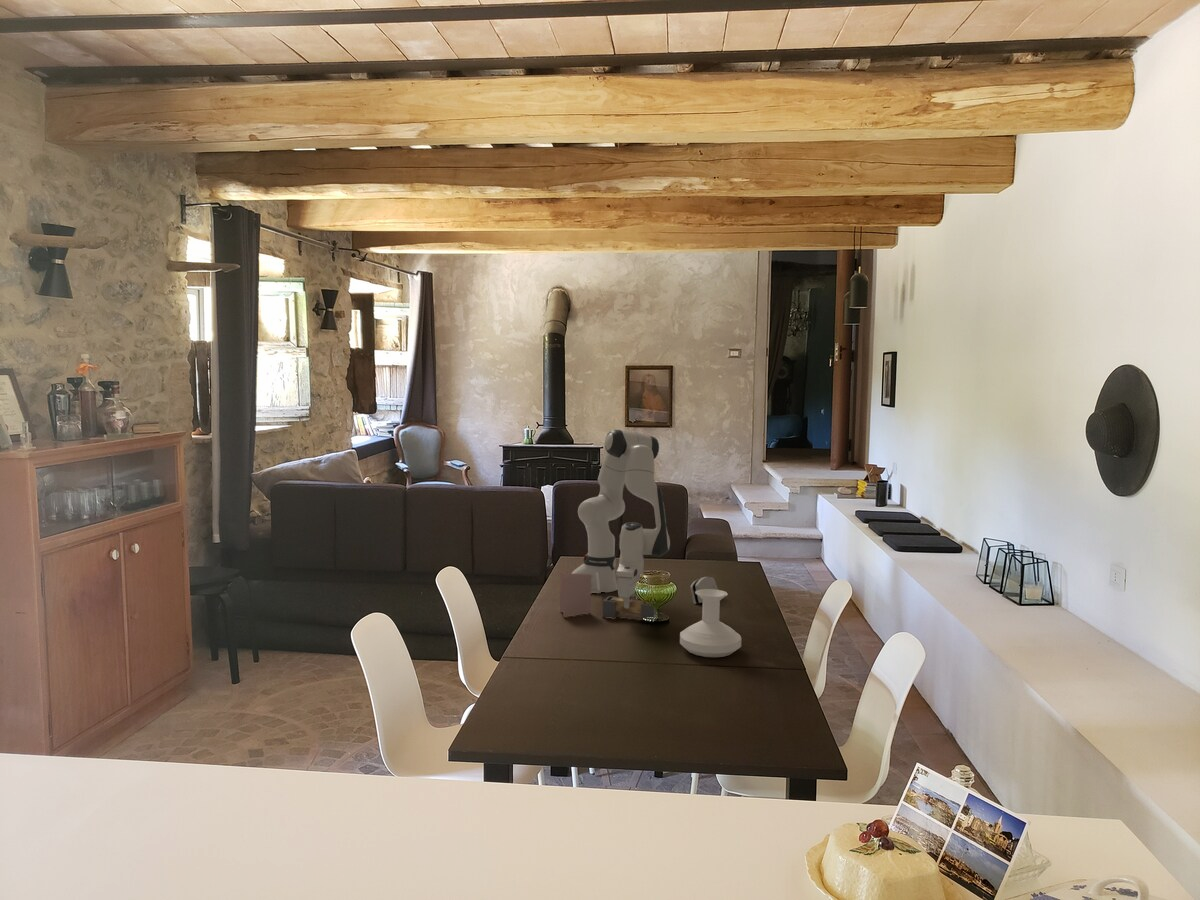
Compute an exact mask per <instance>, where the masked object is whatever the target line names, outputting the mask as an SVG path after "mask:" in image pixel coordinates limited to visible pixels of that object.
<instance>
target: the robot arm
mask: <svg viewBox="0 0 1200 900" xmlns="http://www.w3.org/2000/svg"><path fill="white" fill-rule="evenodd" d="M604 449H605V451H606V452H605V456H604V458H603V460H602V464H601V468H600V470H599V474H598V477H597V483H598V485H599V494H598V495H597V496H593V497H590V498H587V499H585V500H584V501H582V502H581V503H580V504H579V505H578V508H577V516H578V518H579V520H580V521H581V522H582V523H583V524H584V527H585V530H586V534H587V551H588V552H587V553H586V554H585V555H584V556H583V557H582V561H583V563H582V564H581V565H579V566H578V567H577V568H575V569H574V570H573V571H572V572H571V573H570V574H591V594H592V593H597V594H601V592H605V593H611V592H612V593H613V592H615V591H617V594H618V595H617V597H619V598H623V601H624V608H627V609H628V608H629V607H630V603H629V599H630V598H631V599H632V600H638V596H637V595H636V594H635V585H636V583H637V582H638V581H639V580H640V574H642V573H644V555H645V556H647V555H649V556H654V557H662V556H665V555H666V554H667V553H668V552H669V551H670V547H671V541H670V540H671V539H670V535H669V533H668V525H667V516H666V509H665V501H664V494H663V492H662V489H661V487H660V486H657V485H658V484H656V481H655V459H656V458H657V456H658V455H659V450H660V443H659V441H658V439H657V438H656V437H655V436H652V435H649V434H648V435H647V434H644V433H641V432H637V431H627V430H621V429H612V430H610V431H609V432H608V433H607V435H606V437H605V441H604ZM624 488H626V489H627V491H629V493H631V494H632V495H633V496H635V497H637V498H639V499H640V500H641V499H642V500H644V501H646V502H648V503H650V504H651V505H652V507H653V511H654V518H655V519H654V521H655V527H654V528H643V525H642V524H641V523H639V522H636V521H629V522H625V523H623V524H622V525H621V528H620V529H621V530H620V533H619V535H618V549H619V550H620V555H619V561H618V568H617V570H616V566H617V565H616V564H617V560H616V559H617V558H616V555H615V554H616V553H615V548H616V547H615V545H616V539H615V538H616V537H615V535H614V534H613V533H612V532H611V530H610V525H609V522H610V521H614V520H617V519H618V518H620V517H621V516H622V515H623V514H624V513H625V511H626V504H625V501H624V499H623V495H624V493H623V492H624ZM617 577H618V578H617Z"/></svg>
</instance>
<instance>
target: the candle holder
mask: <svg viewBox="0 0 1200 900" xmlns="http://www.w3.org/2000/svg"><path fill="white" fill-rule="evenodd" d="M695 593H696V594H697V595H698V596H699V597H700V598H701V599H703V602H702V607H701V608H702V609H701V610H702V611H701V613H702V615H701V616H702V617H701V620H699V621H698V622H697V621H696V623H692V625H691V624H690V625H689V626H687V627H686V628H685V629H683V630H682V631H680V632H679V644H680V645H681V646H682V647H683V648H684V649H685V650H686V651H688V652H689V653H690V654H693V655H696V656H700V657H704V658H722V657H723V658H724V657H726V656H730V655H732V654H733V653H735V652H736V651H737V650H738V649H740V648H741V647H742V636H741V635H740V634H739V633H738V632H737V631H736V630H734V629H733V628H732V627H731V626H729V625H727V624H725V623H724V622H722V621H720V607H721V606H720V605H721V602H720V601H721V600H723V599H724V598H725V597H727V596H728V593H727V591H724V590H721V589H718V590H716V589H702V590H697V591H696V592H695Z"/></svg>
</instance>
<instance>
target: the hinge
mask: <svg viewBox="0 0 1200 900" xmlns="http://www.w3.org/2000/svg"><path fill="white" fill-rule="evenodd" d="M689 587H690V594H691V598H692V602H693V605H696V604H701V603H702V604H703V599H701V598H700V597H699V596H698V595H697V594H696V593H695V592H696V591H697V590H702V589H716V590H719V588H718V586H717V583H716V580H715V578H714V577H712V576H704V577H700V578H697V579H696V580H694V581H693V582H692V583H691V585H690V586H689Z"/></svg>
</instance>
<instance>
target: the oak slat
mask: <svg viewBox="0 0 1200 900" xmlns="http://www.w3.org/2000/svg"><path fill="white" fill-rule="evenodd" d="M615 597H616V596H614V597H613V598H612V599H610V601H616V611H620V613H628V614H637V615H641V605H642V604H646V603H644V602H643V601H644V600H640V599H639V600H638V599H637V600H632V598H631V599H629V603H630V607H629V608H628V609H627V608H624V601H623V598H615ZM647 605H648V604H647Z"/></svg>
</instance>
